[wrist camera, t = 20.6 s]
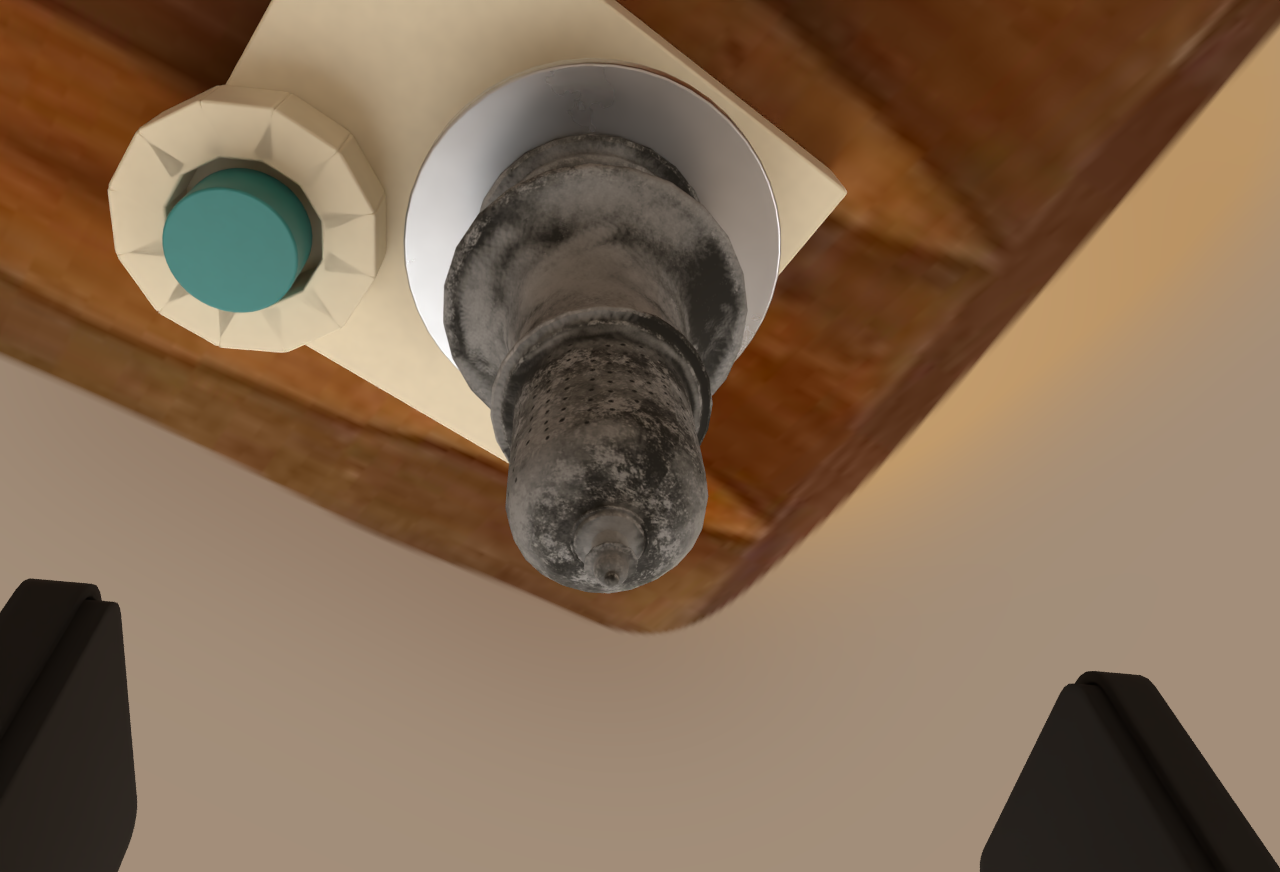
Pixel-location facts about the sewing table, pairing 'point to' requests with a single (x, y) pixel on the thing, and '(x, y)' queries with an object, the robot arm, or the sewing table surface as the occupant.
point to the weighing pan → (589, 105)
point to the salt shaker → (597, 353)
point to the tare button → (237, 240)
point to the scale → (386, 166)
